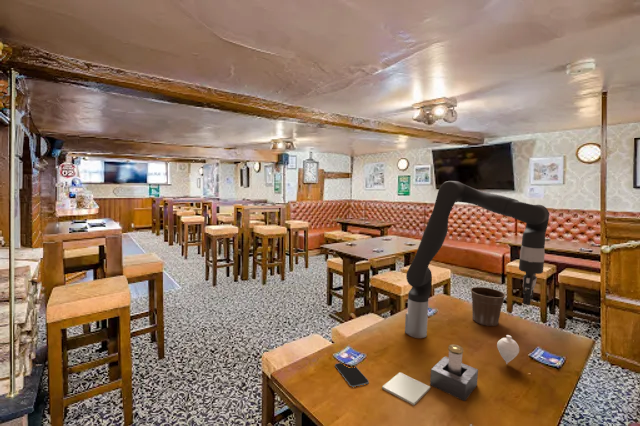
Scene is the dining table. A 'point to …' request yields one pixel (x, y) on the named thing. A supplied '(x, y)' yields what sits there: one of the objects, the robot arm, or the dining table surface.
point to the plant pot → (486, 305)
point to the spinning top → (508, 348)
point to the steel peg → (455, 359)
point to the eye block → (454, 379)
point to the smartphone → (352, 375)
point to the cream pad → (406, 388)
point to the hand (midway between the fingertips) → (527, 301)
